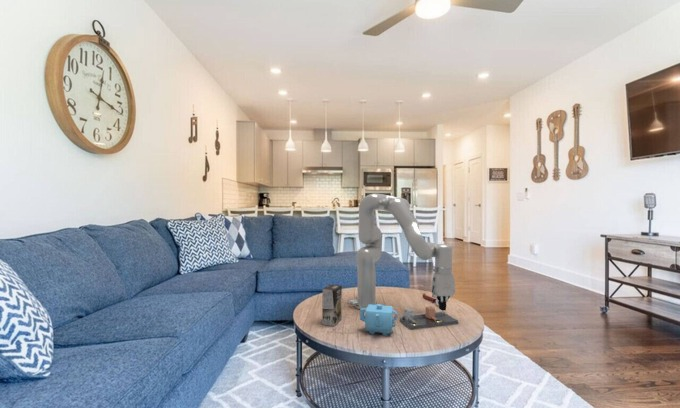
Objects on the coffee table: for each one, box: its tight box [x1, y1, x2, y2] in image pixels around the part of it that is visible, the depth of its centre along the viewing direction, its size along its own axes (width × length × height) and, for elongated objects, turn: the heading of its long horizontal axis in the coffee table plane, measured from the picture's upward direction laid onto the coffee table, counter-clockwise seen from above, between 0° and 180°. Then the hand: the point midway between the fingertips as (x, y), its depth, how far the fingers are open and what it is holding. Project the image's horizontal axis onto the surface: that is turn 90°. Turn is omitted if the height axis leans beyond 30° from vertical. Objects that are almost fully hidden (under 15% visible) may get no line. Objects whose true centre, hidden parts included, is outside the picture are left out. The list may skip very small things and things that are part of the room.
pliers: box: [422, 293, 439, 307], centre depth 173 cm, size 12×20×3 cm, turn 177°
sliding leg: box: [424, 306, 437, 320], centre depth 142 cm, size 3×6×4 cm, turn 16°
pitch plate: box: [399, 307, 459, 331], centre depth 142 cm, size 24×10×6 cm, turn 106°
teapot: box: [359, 303, 398, 337], centre depth 132 cm, size 16×18×11 cm
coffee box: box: [321, 284, 343, 327], centre depth 143 cm, size 9×6×16 cm
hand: (442, 309), depth 146 cm, fingers closed
